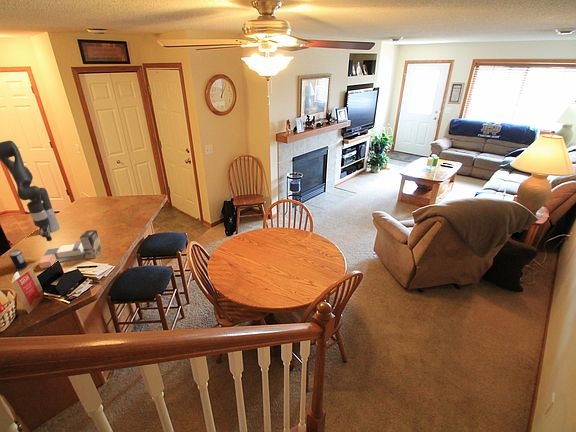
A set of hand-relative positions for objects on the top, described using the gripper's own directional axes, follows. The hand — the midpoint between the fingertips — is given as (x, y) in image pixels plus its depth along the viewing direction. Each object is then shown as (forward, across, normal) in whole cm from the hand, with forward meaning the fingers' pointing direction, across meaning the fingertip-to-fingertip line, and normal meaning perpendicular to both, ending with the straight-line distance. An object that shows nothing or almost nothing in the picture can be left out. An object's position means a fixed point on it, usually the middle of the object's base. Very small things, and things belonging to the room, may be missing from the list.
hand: (49, 240), depth 193 cm
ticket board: (+11, +2, +6) cm, 13 cm away
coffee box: (+11, +7, +24) cm, 27 cm away
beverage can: (+11, +10, -15) cm, 21 cm away
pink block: (+10, +12, -1) cm, 15 cm away
